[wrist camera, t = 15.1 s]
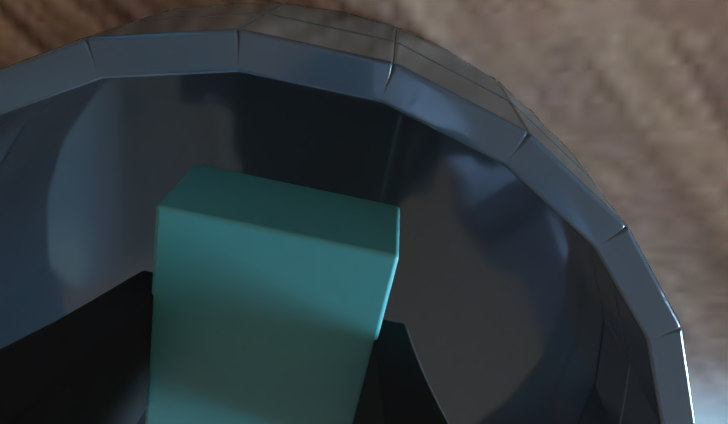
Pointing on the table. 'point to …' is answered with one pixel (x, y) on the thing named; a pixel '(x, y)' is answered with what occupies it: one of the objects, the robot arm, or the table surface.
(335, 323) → the rectangular block
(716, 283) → the table surface
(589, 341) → the bowl
